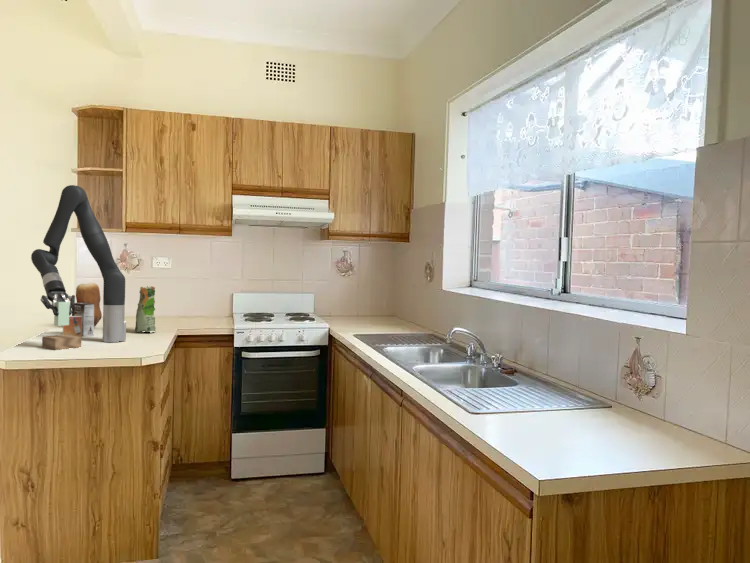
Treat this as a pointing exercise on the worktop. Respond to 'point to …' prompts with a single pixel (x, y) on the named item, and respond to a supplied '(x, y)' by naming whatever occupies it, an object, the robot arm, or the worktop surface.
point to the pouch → (146, 310)
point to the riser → (61, 342)
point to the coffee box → (85, 317)
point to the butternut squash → (90, 298)
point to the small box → (73, 326)
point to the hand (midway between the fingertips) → (63, 314)
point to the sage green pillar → (62, 313)
